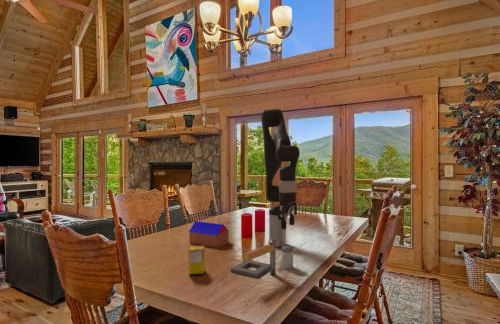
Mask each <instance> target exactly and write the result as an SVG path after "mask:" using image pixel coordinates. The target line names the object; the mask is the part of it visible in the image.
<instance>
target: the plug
mask: <svg viewBox="0 0 500 324" xmlns="http://www.w3.org/2000/svg"><path fill="white" fill-rule="evenodd" d="M281 268H282V269H283V270H293V269H294V247H293V246H292V245H285V246H282V247H281Z"/></svg>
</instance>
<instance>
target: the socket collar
mask: <svg viewBox="0 0 500 324" xmlns="http://www.w3.org/2000/svg"><path fill="white" fill-rule="evenodd" d="M248 267H252V268H256V269H255V270H253V269H250V268H249V269H248ZM269 271H270V263H266V262H260V261H255V260H249V261H247V260H244V261H242V262H240V263H239V264H237V265H235V266H232V267H230V272H231V273H235V274H238V275H243V276H248V277H252V278H256V279H257V278H259V277H261V276H262V275H263V274H265V273H266V272H269Z"/></svg>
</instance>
